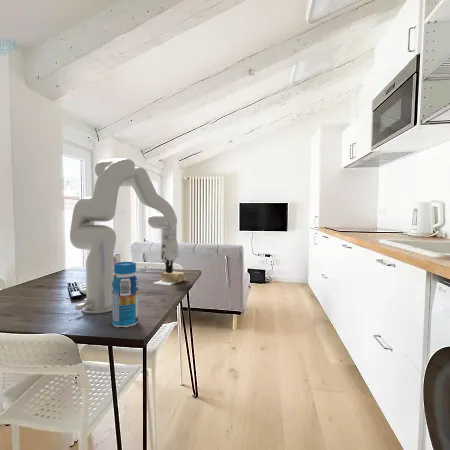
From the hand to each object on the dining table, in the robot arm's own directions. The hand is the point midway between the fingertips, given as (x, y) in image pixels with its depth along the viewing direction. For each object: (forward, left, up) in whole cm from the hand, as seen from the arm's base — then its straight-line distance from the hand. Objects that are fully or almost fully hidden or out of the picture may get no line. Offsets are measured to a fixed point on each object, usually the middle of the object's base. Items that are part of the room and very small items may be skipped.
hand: (169, 272), depth 153 cm
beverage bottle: (-54, -18, -5) cm, 57 cm away
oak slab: (0, 0, -3) cm, 3 cm away
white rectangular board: (+2, +1, -5) cm, 6 cm away
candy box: (-24, +19, -5) cm, 31 cm away
